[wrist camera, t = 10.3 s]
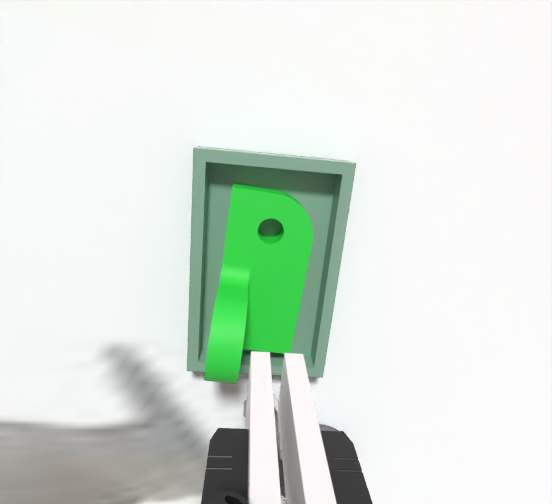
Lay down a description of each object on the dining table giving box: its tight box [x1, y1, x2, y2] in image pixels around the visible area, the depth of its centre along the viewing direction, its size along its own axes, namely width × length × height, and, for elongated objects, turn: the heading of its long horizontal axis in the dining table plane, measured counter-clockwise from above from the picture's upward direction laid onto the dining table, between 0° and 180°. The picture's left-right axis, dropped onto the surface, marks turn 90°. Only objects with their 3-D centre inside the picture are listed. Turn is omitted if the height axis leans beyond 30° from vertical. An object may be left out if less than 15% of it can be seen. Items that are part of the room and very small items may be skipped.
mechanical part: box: [204, 183, 313, 383], centre depth 25 cm, size 12×6×8 cm, turn 171°
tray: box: [187, 146, 356, 377], centre depth 28 cm, size 11×17×2 cm, turn 175°
